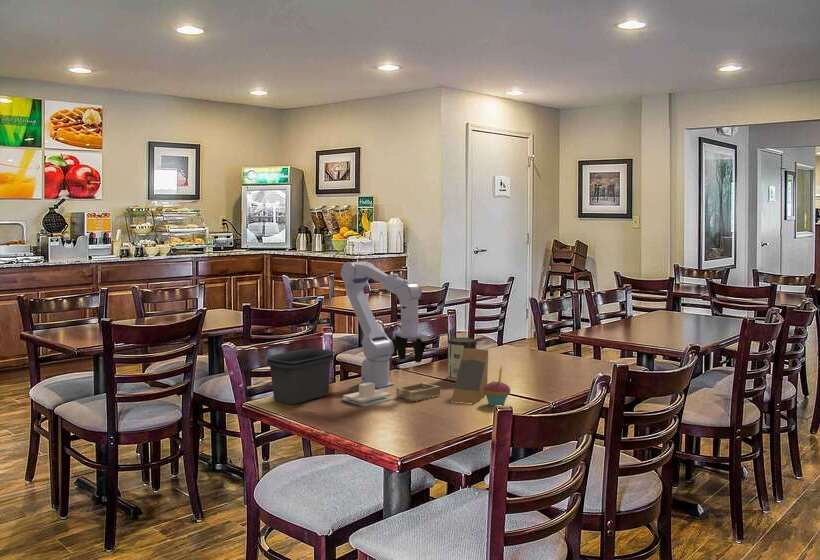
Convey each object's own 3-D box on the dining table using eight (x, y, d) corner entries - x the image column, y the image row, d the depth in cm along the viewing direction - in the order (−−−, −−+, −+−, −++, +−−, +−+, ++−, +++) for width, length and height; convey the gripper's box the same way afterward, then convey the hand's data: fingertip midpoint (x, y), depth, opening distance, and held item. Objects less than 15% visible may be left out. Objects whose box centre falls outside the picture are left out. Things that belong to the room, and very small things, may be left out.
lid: (342, 399, 233) (342, 384, 233) (372, 392, 242) (372, 378, 242) (361, 404, 227) (361, 389, 227) (390, 397, 236) (390, 383, 236)
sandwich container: (449, 403, 233) (449, 355, 231) (462, 392, 247) (463, 347, 246) (475, 405, 230) (476, 357, 228) (487, 394, 244) (488, 349, 243)
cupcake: (494, 399, 236) (495, 362, 235) (516, 404, 230) (516, 366, 229) (477, 404, 230) (477, 366, 229) (498, 409, 224) (499, 370, 223)
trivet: (341, 400, 234) (341, 398, 234) (367, 394, 242) (367, 392, 242) (364, 406, 227) (364, 404, 227) (390, 400, 235) (390, 398, 235)
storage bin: (290, 408, 224) (290, 361, 222) (256, 400, 233) (256, 355, 232) (339, 395, 240) (339, 352, 239) (306, 388, 250) (306, 346, 249)
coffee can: (474, 375, 273) (475, 337, 272) (477, 381, 262) (477, 342, 261) (446, 375, 273) (447, 337, 272) (447, 381, 263) (448, 341, 261)
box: (396, 397, 238) (396, 388, 238) (422, 391, 247) (422, 382, 247) (414, 401, 233) (414, 392, 233) (440, 395, 241) (440, 386, 241)
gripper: (385, 319, 247) (386, 359, 248) (416, 322, 237) (417, 364, 238) (401, 317, 252) (401, 356, 253) (431, 320, 242) (432, 361, 243)
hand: (410, 360), depth 246 cm, fingers open, 7 cm apart
